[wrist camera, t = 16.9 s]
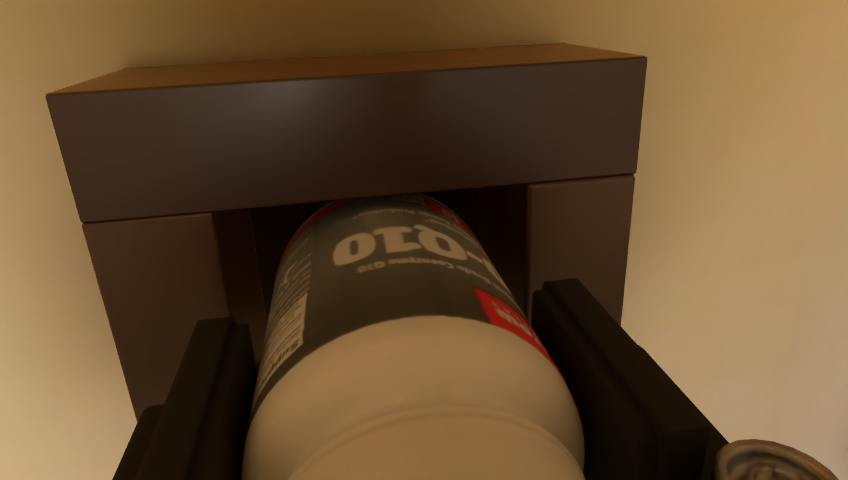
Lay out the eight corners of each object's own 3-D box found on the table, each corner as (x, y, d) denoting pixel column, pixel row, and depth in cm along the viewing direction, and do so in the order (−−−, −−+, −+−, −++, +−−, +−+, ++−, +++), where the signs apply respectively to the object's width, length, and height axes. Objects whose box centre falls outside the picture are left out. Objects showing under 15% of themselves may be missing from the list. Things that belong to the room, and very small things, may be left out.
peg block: (122, 68, 13) (42, 94, 9) (565, 42, 14) (648, 56, 11) (207, 437, 17) (174, 559, 13) (549, 390, 18) (606, 488, 14)
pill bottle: (514, 220, 13) (766, 515, 6) (436, 386, 15) (556, 801, 7) (313, 151, 12) (296, 413, 4) (249, 341, 14) (152, 788, 6)
